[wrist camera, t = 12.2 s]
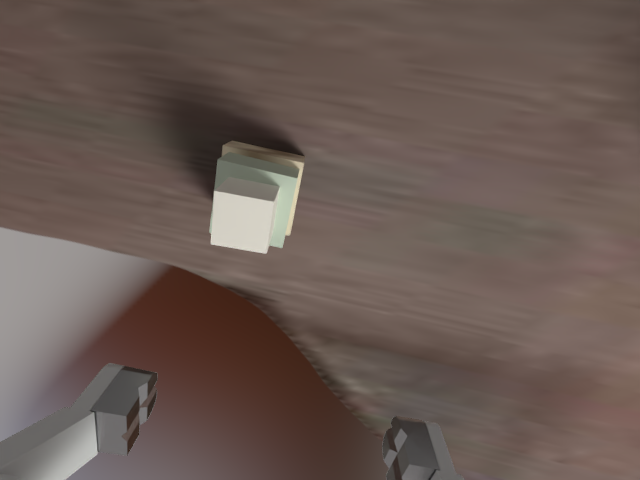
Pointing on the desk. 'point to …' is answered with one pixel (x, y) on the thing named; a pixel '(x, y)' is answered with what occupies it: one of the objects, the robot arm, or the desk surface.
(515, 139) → the desk surface
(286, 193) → the green tower middle block
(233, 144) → the tower base
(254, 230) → the cream block
